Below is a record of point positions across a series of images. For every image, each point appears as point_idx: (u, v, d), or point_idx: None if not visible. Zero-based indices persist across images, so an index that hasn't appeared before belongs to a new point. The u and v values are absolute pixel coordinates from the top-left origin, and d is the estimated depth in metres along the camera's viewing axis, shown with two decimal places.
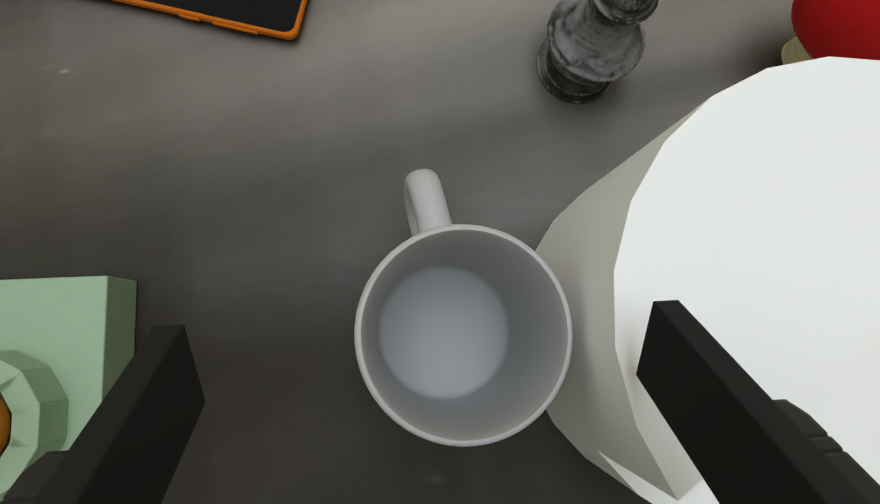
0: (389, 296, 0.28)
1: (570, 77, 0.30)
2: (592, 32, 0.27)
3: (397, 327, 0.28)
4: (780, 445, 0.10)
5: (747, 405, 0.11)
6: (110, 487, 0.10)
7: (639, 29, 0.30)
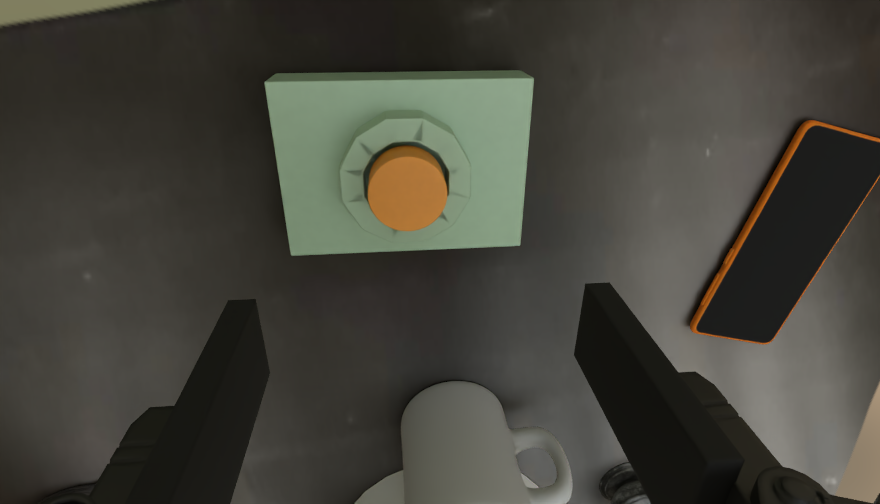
0: None
1: (618, 496, 0.44)
2: None
3: None
4: (674, 409, 0.11)
5: (651, 375, 0.12)
6: (213, 436, 0.11)
7: None
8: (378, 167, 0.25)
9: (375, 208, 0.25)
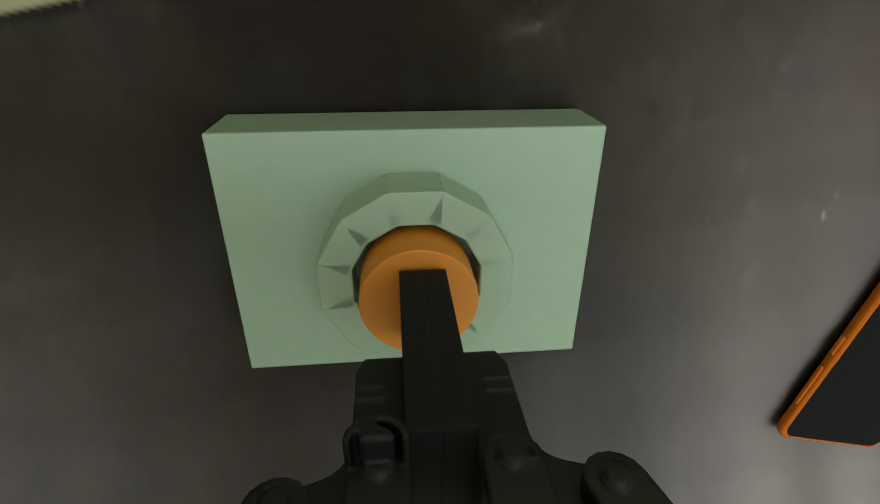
0: None
1: None
2: None
3: None
4: (441, 382, 0.11)
5: (435, 352, 0.12)
6: None
7: None
8: (375, 265, 0.16)
9: (370, 322, 0.17)
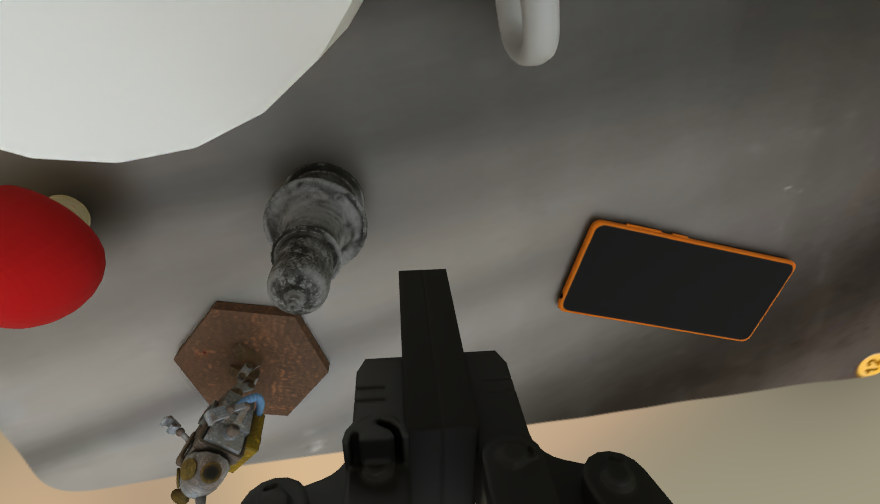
0: None
1: None
2: (330, 222, 0.27)
3: None
4: (441, 382, 0.11)
5: (435, 352, 0.12)
6: None
7: (270, 232, 0.29)
8: None
9: None
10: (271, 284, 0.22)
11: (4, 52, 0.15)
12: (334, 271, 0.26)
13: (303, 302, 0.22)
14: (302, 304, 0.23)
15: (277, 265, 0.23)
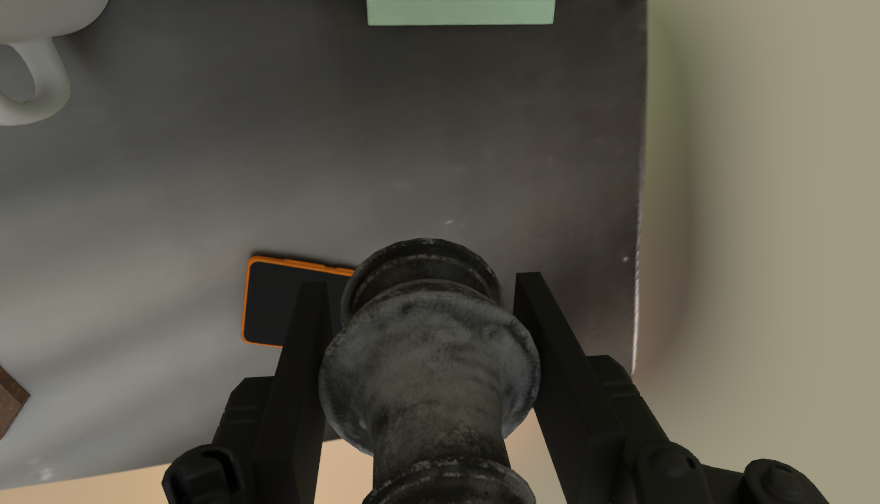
0: None
1: (481, 294, 0.13)
2: (487, 406, 0.11)
3: None
4: (573, 388, 0.11)
5: (558, 357, 0.12)
6: (310, 402, 0.12)
7: (332, 404, 0.13)
8: None
9: None
10: None
11: None
12: None
13: None
14: None
15: None
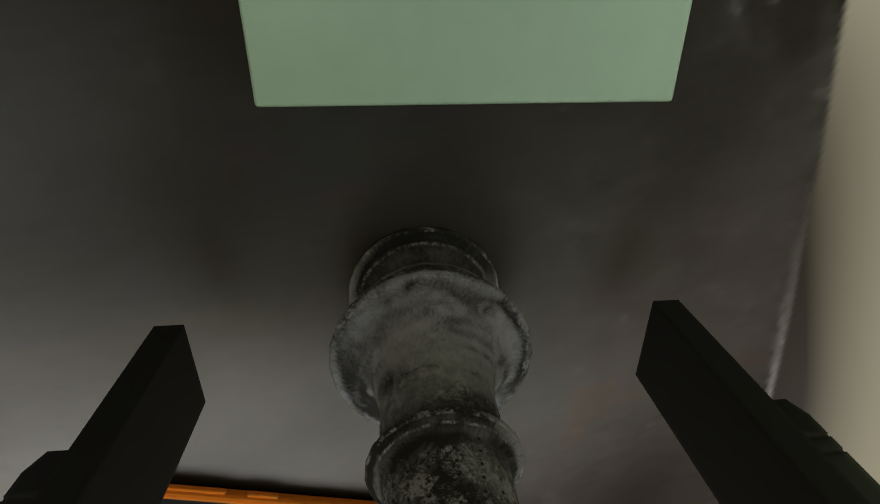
0: None
1: (477, 276, 0.15)
2: (481, 371, 0.13)
3: None
4: (780, 445, 0.10)
5: (746, 405, 0.11)
6: (110, 487, 0.10)
7: (342, 373, 0.14)
8: None
9: None
10: None
11: None
12: None
13: None
14: None
15: None
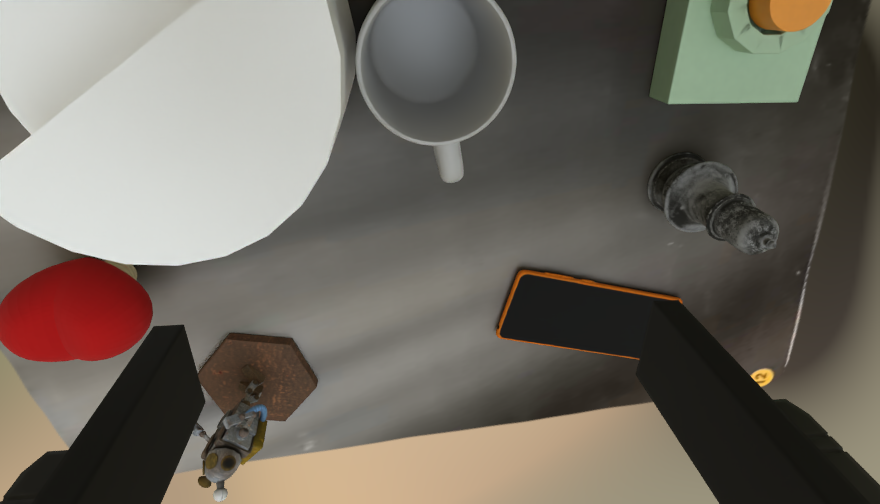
0: (467, 79, 0.35)
1: None
2: None
3: (462, 52, 0.35)
4: (780, 445, 0.10)
5: (746, 405, 0.11)
6: (110, 487, 0.10)
7: (669, 202, 0.39)
8: None
9: None
10: (748, 231, 0.33)
11: (115, 207, 0.25)
12: None
13: None
14: None
15: (750, 218, 0.33)
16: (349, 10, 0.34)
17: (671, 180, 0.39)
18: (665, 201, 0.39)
